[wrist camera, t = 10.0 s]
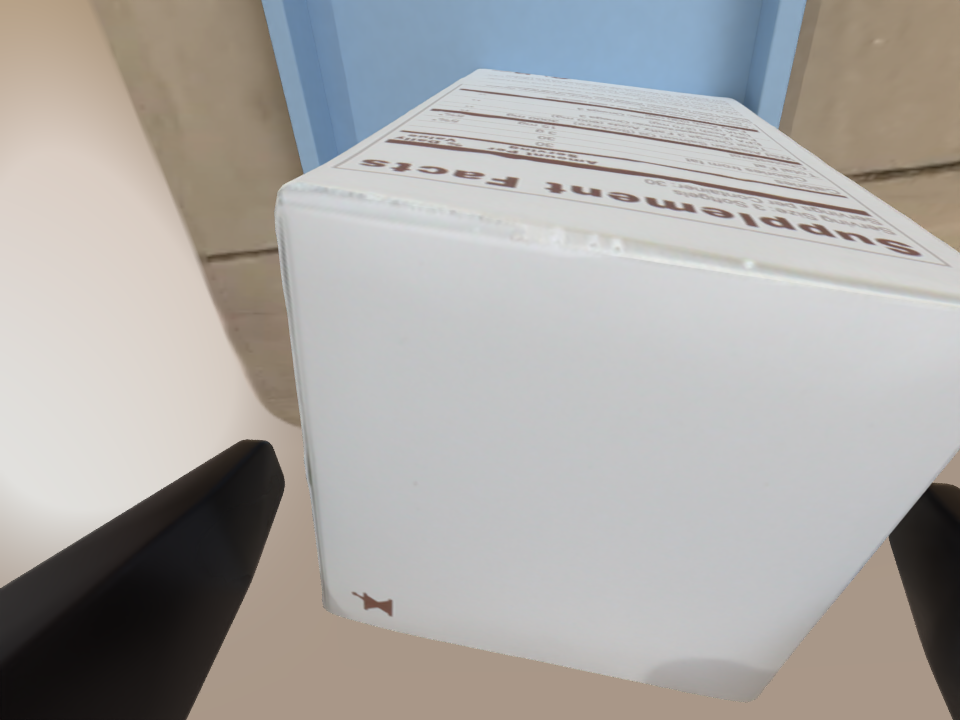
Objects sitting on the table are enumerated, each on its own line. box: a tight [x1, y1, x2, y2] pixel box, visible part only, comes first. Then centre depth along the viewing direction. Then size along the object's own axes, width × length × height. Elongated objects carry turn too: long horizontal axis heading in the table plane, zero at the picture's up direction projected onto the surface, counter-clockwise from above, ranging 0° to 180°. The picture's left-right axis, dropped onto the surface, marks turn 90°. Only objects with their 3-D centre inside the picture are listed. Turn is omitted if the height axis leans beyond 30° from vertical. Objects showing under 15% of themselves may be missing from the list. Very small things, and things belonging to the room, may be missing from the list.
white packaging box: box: [274, 69, 960, 702], centre depth 12 cm, size 7×7×13 cm
